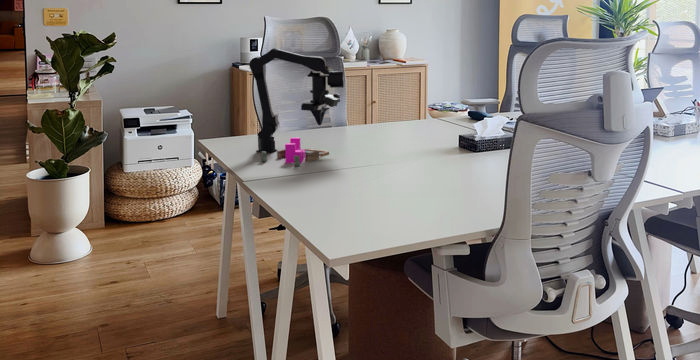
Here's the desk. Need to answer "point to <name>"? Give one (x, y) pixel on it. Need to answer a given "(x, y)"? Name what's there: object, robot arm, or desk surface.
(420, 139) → the desk surface
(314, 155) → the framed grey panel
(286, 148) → the magenta curved bracket
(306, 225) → the desk surface
